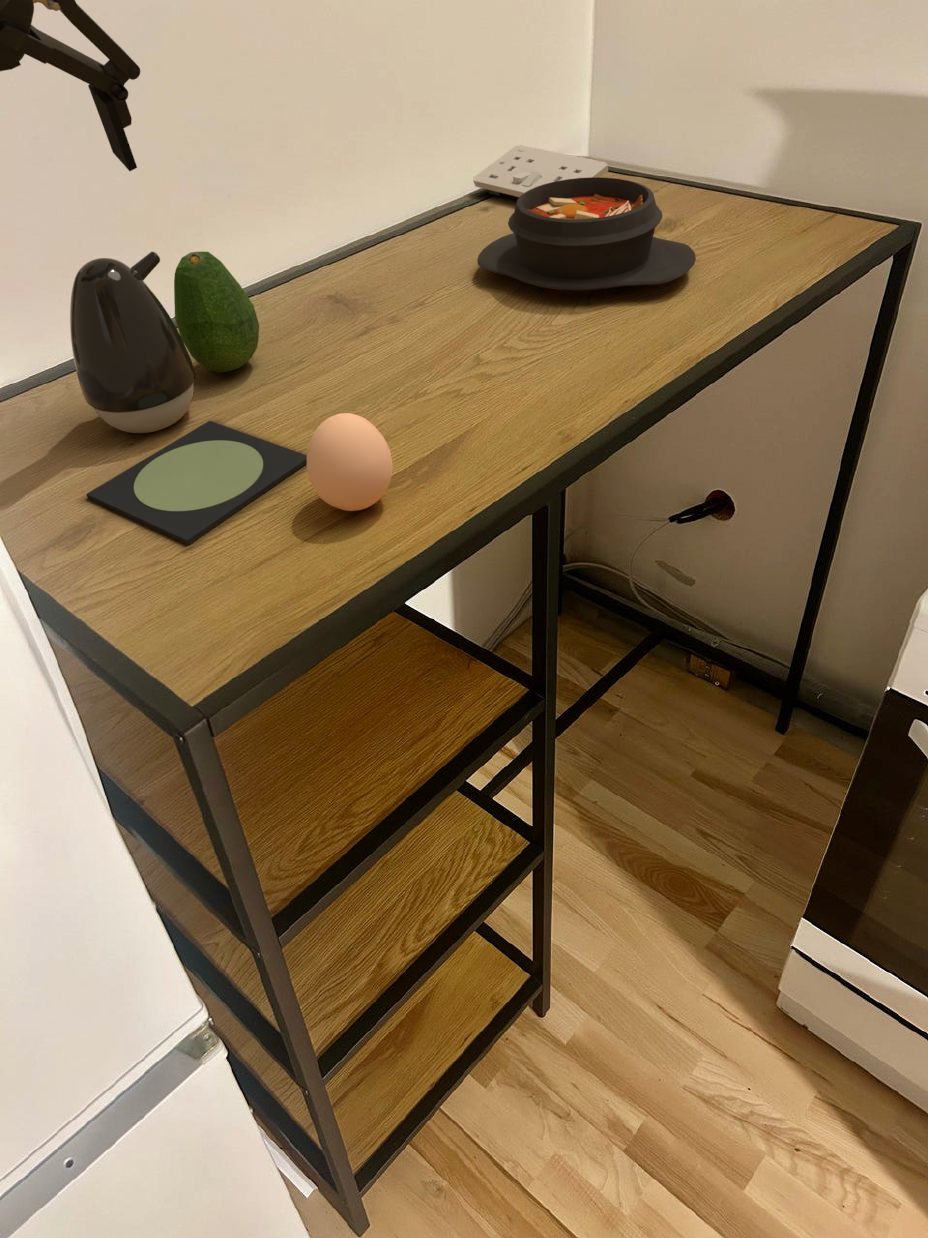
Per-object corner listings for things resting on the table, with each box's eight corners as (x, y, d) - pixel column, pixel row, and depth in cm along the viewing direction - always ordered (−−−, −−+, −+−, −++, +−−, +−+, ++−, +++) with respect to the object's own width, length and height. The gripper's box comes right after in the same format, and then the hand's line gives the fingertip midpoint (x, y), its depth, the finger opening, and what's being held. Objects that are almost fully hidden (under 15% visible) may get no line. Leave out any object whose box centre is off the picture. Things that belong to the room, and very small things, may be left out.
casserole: (710, 251, 108) (718, 175, 103) (671, 317, 96) (677, 234, 90) (512, 237, 117) (509, 166, 111) (452, 295, 104) (446, 219, 99)
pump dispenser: (227, 415, 87) (182, 253, 77) (127, 459, 83) (65, 293, 73) (176, 382, 93) (128, 229, 83) (80, 422, 89) (17, 264, 79)
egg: (389, 529, 71) (375, 439, 66) (307, 528, 72) (286, 440, 67) (404, 481, 76) (392, 395, 71) (326, 481, 77) (309, 395, 72)
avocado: (176, 376, 95) (139, 259, 87) (232, 346, 99) (203, 231, 91) (228, 394, 91) (195, 273, 83) (285, 361, 95) (258, 243, 87)
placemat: (88, 498, 78) (85, 492, 78) (211, 424, 86) (209, 419, 86) (188, 545, 72) (186, 539, 72) (311, 461, 80) (309, 455, 80)
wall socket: (622, 179, 127) (619, 149, 124) (564, 231, 120) (560, 201, 117) (512, 172, 136) (508, 144, 134) (453, 220, 129) (447, 191, 127)
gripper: (-234, 45, 54) (-59, 295, 74) (134, -111, 61) (204, 156, 80) (-288, -25, 56) (-104, 236, 76) (75, -170, 63) (157, 106, 82)
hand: (55, 196), depth 78 cm, fingers open, 13 cm apart
